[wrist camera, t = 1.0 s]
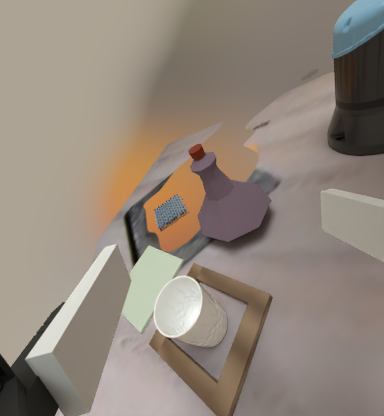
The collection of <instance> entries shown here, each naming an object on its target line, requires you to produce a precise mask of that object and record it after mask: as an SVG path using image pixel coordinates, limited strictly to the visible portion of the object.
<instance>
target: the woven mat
mask: <svg viewBox="0 0 384 416" xmlns="http://www.w3.org/2000/svg"><path fill="white" fill-rule="evenodd" d="M174 197H175V198H174ZM174 197H173V199H171V198H170V200H169V202H167V201H166V202H167V203H165V205H164V204H162V205H163V206H161V208H160V207H158V208H159V209H157V211H156V210H154V211H155V213H154V214H156V217H155V218H156V222H158V223H157V225H159V226H158V227H159V229H160V230H161V232H162V231H163V230H165V228H167V227H169V226H171V225H172V224H174V223H175V222H177V221H178V220H179V218H181V217H184V216H185V215H187V214H188V213H189V211H187V207H185V204H184V203H183V201H182V200H183V199H182V198H181V199H180V197H181V196H180V195H177V196H174ZM177 197H178V198H177ZM181 206H182V207H181ZM184 212H185V213H184Z"/></svg>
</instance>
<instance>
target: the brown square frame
mask: <svg viewBox="0 0 384 416" xmlns="http://www.w3.org/2000/svg"><path fill="white" fill-rule="evenodd" d="M187 276H189V277H191V278H193V279H195V280H196V281H197V282H198V283H200V281H201V282H203V283H205V284H207V285H209V286H211V287H213V288H215V289H217V290H219V291H221V292H223V293H225V294H227V295H229V296H231V297H234V298H236V299H238V300H240V301H242V302H244V303H246V304H248V306H247V308H246V311H245V314H244V316H243V319H242V321H241V324H240V326H239V329H238V332H237V334H236V337H235V339H234V342H233V345H232V347H231V350H230V352H229V355H228V357H227V360H226V363H225V365H224V368H223V370H222V373H221V376H220V378H219V381H217V380H216V379H214V378H213V377H212V376H211V375H210V374H209V373H208V372H207V371H206V370H204V369H203V368H202V367H201V366H200V365H199V364H198V363H197V362H195V361H194V360H193V359H192V358H191V357H190V356H189V355H188V354H187V353H185V352H184V351H183V350H182V349H181V348H180V347H179V346H178V345H177V344H175V343H174V342H173V341H172V340H171V338H169V337H166V336H164V335H162V334H161V333H160V332H159V331H158V329H157V330H156V332H155V334H154V336H153V338H152V339H151V341H150V343H149V345H150V346H151V347H152V348H153V349H154V350H155V351H156V352H157V353H158V354H159V355H160V356H161V357H162V358H163V359H164V360H165V361H166V362H167V364H168V365H169V366H170V367H171V368H172V369H173V370H174V371H175V372H176V373H177V374H178V375H179V376H180V377H181V378H182V379H183V380H184V381H185V383H186V384H187V385H188V386H189V387H190V388H191V389H192V390H193V391H194V392H195V393H196V394H197V395H198V396H199V397H200V398H201V399H202V400H203V402H204V403H205V404H206V405H207V406H208V407H209V408H210V409H211V410H212V411H213V412H214V413H215V414H216V415H217V416H233V413H234V410H235V407H236V404H237V401H238V398H239V395H240V392H241V389H242V386H243V383H244V380H245V377H246V374H247V371H248V368H249V365H250V362H251V360H252V357H253V354H254V351H255V348H256V345H257V342H258V339H259V336H260V333H261V330H262V327H263V324H264V321H265V318H266V315H267V312H268V309H269V306H270V303H271V301H272V296H271V295H270V294H268V293H266V292H263V291H261V290H258V289H256V288H253V287H251V286H248V285H246V284H244V283H241V282H239V281H236V280H234V279H231V278H229V277H226V276H224V275H222V274H219V273H217V272H214V271H212V270H209V269H207V268H204V267H202V266H199V265H197V264H195V263H194V264H193V266H192V267H191V269H190V271H189V273H188V275H187Z"/></svg>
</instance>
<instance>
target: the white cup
mask: <svg viewBox="0 0 384 416" xmlns="http://www.w3.org/2000/svg"><path fill="white" fill-rule="evenodd" d="M154 322H155V325H156V327H157V329H158V331H159V332H160V333H161V334H162V335H164V336H166V337H169V338H172V339H175V340H179V341H182V342H185V343H188V344H192V345H197V346H201V347H214V346H216V345H217V344H218V343H220V342H221V341H222V339H223V337H224V336H225V334H226V331H227V323H228V321H227V317H226V313H225V311H224V310H223V308H222V307H221V306H220V305H219V304H218V303H217V301H216V300H215V299H214V298H213V297H212V296H211V295H210V294H209V293H208V292H207V291H206V290H205V289H204V288H203V287H202V286H201V285H200V284H199V283H198V282H197V281H196V280H195V279H193V278H191V277H189V276H179V277H176V278H174V279H172V280H170V281H169V282H168V283H167V284H166V285H165V286H164V287H163V288H162V290H161V291H160V293H159V295H158V297H157V299H156V302H155V306H154Z"/></svg>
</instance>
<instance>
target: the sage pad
mask: <svg viewBox="0 0 384 416" xmlns="http://www.w3.org/2000/svg"><path fill="white" fill-rule="evenodd" d="M183 263H184V260H182V259H180V258H177V257H175V256H173V255H170V254H168V253H165V252H163V251H161V250H158V249H156V248H153V247H151V246H148V247H147V249H146V250H145V252H144V253H143V255H142V256H141V258H140V259H139V260H138V262H137V263H136V265H135V266H134V268H133V269H132V271H131V272H130V273H129V275H130V278H131V284H130V287H129V290H128V294H127V297H126V300H125V303H124V306H123V309H122V314H123V315H124V316H125V317H126V318H127V319H128V320H129V321H130V322H131V324H132V325H133V326H134V327H135V328H136V329H137V330H138V331H139V332H140V333H143V332H144V330H145V328H146V326H147V325H148V323H149V321H150V320H151V318H152V316H153V314H154V306H155V302H156V299H157V297H158V295H159V293H160V291H161V290H162V288H163V287H164V286H165V285H166V284H167V283H168V282H169V281H170V280H172V279H174V278H175V276H176V275H177V273H178V271H179V270H180V268H181V266H182V264H183Z"/></svg>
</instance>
